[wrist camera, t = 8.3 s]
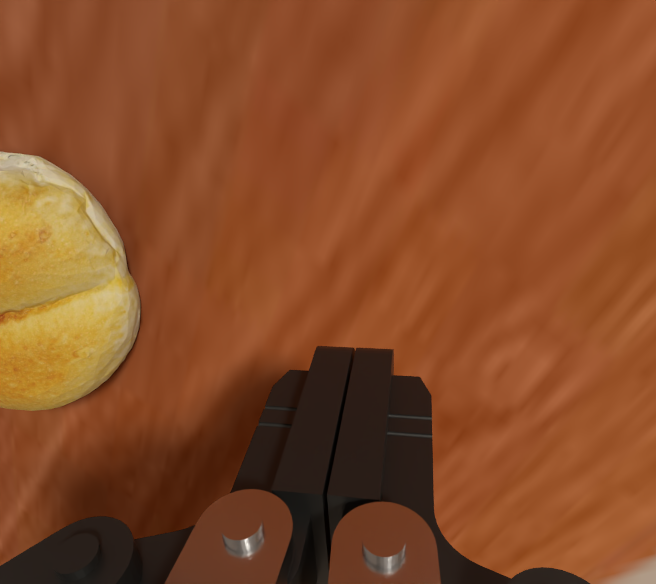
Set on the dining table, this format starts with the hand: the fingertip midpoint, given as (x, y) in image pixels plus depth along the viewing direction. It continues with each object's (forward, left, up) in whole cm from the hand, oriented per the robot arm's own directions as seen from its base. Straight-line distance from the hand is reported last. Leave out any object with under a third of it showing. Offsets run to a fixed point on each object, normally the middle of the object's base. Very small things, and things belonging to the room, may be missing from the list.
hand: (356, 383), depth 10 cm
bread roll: (+1, -12, -7) cm, 14 cm away
